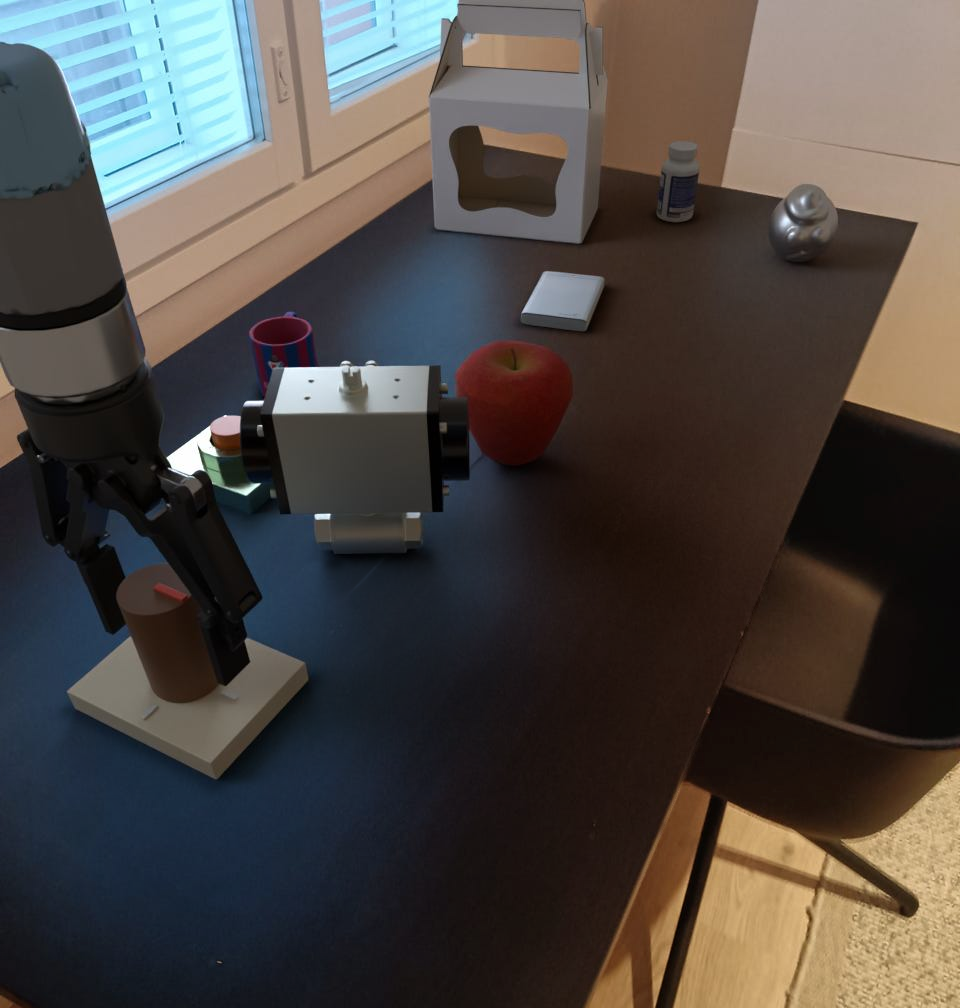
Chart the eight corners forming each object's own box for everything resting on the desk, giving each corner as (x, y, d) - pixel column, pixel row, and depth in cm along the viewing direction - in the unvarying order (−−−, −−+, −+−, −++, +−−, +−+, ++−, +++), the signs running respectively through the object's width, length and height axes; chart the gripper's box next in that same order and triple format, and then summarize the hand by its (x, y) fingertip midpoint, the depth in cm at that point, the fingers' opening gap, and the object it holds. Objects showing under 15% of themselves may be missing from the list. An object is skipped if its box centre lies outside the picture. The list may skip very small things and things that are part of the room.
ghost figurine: (747, 262, 126) (762, 185, 119) (781, 240, 131) (798, 165, 124) (808, 281, 122) (828, 202, 114) (841, 258, 127) (862, 180, 119)
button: (205, 445, 89) (201, 429, 88) (229, 427, 92) (226, 411, 90) (234, 455, 88) (231, 439, 87) (258, 436, 90) (255, 421, 89)
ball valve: (471, 512, 87) (467, 336, 75) (471, 572, 81) (467, 391, 69) (280, 515, 87) (244, 340, 75) (267, 575, 81) (225, 395, 69)
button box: (163, 482, 91) (152, 447, 89) (229, 433, 97) (221, 399, 95) (251, 514, 88) (242, 479, 85) (313, 461, 94) (308, 427, 91)
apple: (466, 495, 89) (463, 382, 81) (451, 434, 97) (447, 325, 88) (578, 483, 90) (587, 371, 82) (555, 424, 98) (560, 315, 89)
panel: (74, 708, 71) (65, 689, 69) (173, 620, 77) (167, 601, 76) (216, 780, 66) (209, 761, 64) (308, 679, 73) (305, 660, 71)
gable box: (432, 230, 135) (422, 0, 115) (457, 197, 144) (452, -22, 124) (583, 245, 130) (599, 9, 111) (599, 210, 139) (617, -14, 119)
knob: (135, 686, 69) (97, 595, 63) (184, 641, 73) (153, 550, 66) (190, 713, 68) (157, 621, 61) (238, 665, 71) (211, 574, 64)
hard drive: (587, 319, 111) (605, 275, 120) (520, 312, 113) (543, 269, 121) (586, 332, 112) (604, 288, 121) (520, 324, 114) (542, 281, 122)
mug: (252, 401, 102) (240, 343, 97) (279, 356, 109) (268, 301, 104) (311, 405, 101) (302, 347, 96) (334, 360, 108) (326, 304, 103)
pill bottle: (699, 215, 137) (710, 144, 131) (678, 226, 135) (688, 154, 128) (669, 206, 140) (678, 136, 133) (648, 216, 137) (656, 145, 130)
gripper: (282, 389, 50) (332, 667, 66) (-5, 302, 58) (101, 569, 74) (189, 459, 46) (267, 739, 62) (-109, 353, 54) (28, 626, 70)
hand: (176, 646), depth 68 cm, fingers open, 10 cm apart
